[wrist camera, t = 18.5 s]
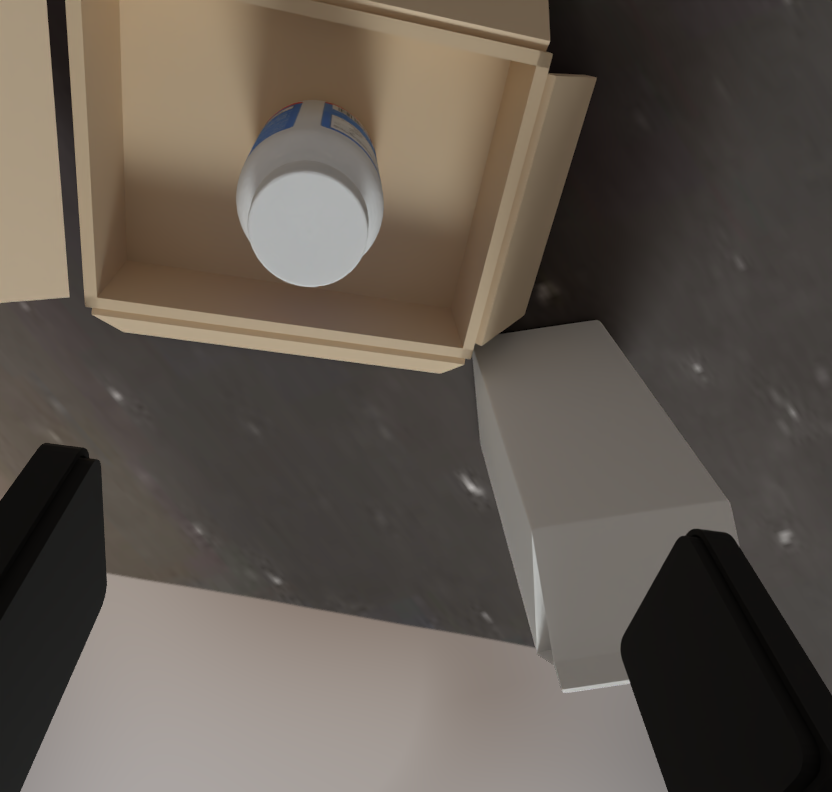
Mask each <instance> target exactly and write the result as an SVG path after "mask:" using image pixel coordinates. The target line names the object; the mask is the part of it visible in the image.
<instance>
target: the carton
mask: <svg viewBox="0 0 832 792" xmlns="http://www.w3.org/2000/svg"><path fill="white" fill-rule="evenodd" d="M65 5H66V20H67V35H68V51H69V66H70V81H71V97H72V112H73V128H74V143H75V158H76V174H77V189H78V204H79V220H80V235H81V250H82V266H83V281H84V297H85V307H92V315H94V316H96V317H97V318H99V319H101V320H103V321H105V322H106V323H108V324H110V325H112V326H114V327H115V328H117V329H119V330H121V331H123V332H128V333H135V334H143V335H150V336H158V337H166V338H173V339H181V340H188V341H196V342H204V343H211V344H219V345H226V346H234V347H242V348H249V349H257V350H264V351H272V352H279V353H287V354H295V355H302V356H310V357H317V358H325V359H333V360H340V361H348V362H355V363H363V364H371V365H378V366H386V367H393V368H401V369H409V370H416V371H424V372H431V373H439V374H441V373H443V372H446V371H449V370H451V369H454V368H457V367H459V366H462V365H464V364H465V359H471V356H472V353H473V349H474V345H475V343H476V344H478V345H480V346H483V345H484V344H485V343H487V342H488V341H490V340H491V339H492V338H494V337H495V336H496V335H498V334H499V333H501V332H502V331H503V330H505V329H506V328H507V327H509V326H510V325H511V324H513V323H514V322H516V321H517V320H518V319H520V318H521V317H522V316H524V315H525V312H526V309H527V305H528V302H529V299H530V296H531V292H532V289H533V286H534V282H535V279H536V276H537V273H538V269H539V266H540V263H541V260H542V256H543V253H544V250H545V246H546V243H547V240H548V237H549V233H550V230H551V227H552V223H553V220H554V217H555V214H556V210H557V207H558V204H559V201H560V197H561V194H562V191H563V187H564V184H565V181H566V178H567V174H568V171H569V168H570V165H571V161H572V158H573V155H574V151H575V148H576V145H577V142H578V138H579V135H580V132H581V129H582V125H583V122H584V119H585V115H586V112H587V109H588V106H589V102H590V99H591V96H592V92H593V89H594V86H595V83H596V79H597V78H596V77H593V76H589V75H577V74H556V73H548V71H549V68H550V64H551V60H552V56H553V54H552V53H550V52H547V51H546V50H547V48H548V45H549V43H550V23H549V3H548V0H65ZM303 100H321V101H326V102H330V103H333V104H335V105H338V106H339V107H341V108H343V109H345V110H346V111H348V112H349V113H351V114H352V115H353V116H355V117H356V118H357V119H358V120H359V122H360V123H361V124H362V125H363V127H364V128H365V129H366V131H367V132H368V134H369V136H370V138H371V140H372V143H373V145H374V148H375V153H376V158H377V164H378V168H379V173H380V179H381V184H382V191H383V200H384V211H383V219H382V223H381V227H380V230H379V233H378V235H377V237H376V239H375V241H374V243H373V244H372V246H371V247H370V249H369V250H368V251H367V252H366V253H365V254H364V255H363V256H362V258H361V259H360V261H359V263H358V264H357V265H356V267H355V268H354V269H353V270H352V271H351V272H350V273H348V274H347V275H346V276H345V277H343V278H342V279H340V280H338V281H336V282H334V283H331V284H328V285H324V286H317V287H304V286H297V285H294V284H290V283H288V282H285V281H283V280H281V279H280V278H278V277H276V276H275V275H273V274H272V273H271V272H270V271H268V270H267V269H266V268H265V267H264V266H263V264H262V263H261V262H260V261H259V259H258V258H257V256H256V254H255V253H254V251H253V249H252V246H251V244H250V241H249V240H248V238H247V236H246V235H245V233H244V231H243V229H242V226H241V223H240V220H239V217H238V212H237V205H236V191H237V184H238V180H239V176H240V173H241V170H242V168H243V166H244V163H245V161H246V159H247V157H248V155H249V153H250V151H251V149H252V147H253V145H254V144H255V142H256V140H257V138H258V136H259V134H260V132H261V130H262V129H263V127H264V126H265V124H266V123H267V122H268V120H269V119H270V118H271V117H272V116H273V115H274V114H275V113H276V112H278V111H279V110H281V109H282V108H284V107H285V106H287V105H290V104H292V103H295V102H298V101H303Z"/></svg>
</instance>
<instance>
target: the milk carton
mask: <svg viewBox="0 0 832 792" xmlns="http://www.w3.org/2000/svg"><path fill="white" fill-rule="evenodd" d="M472 358H473V369H474V380H475V391H476V402H477V413H478V424H479V435H480V444H481V448H482V452H483V456H484V459H485V463H486V467H487V470H488V474H489V478H490V481H491V485H492V489H493V492H494V496H495V500H496V504H497V507H498V511H499V515H500V518H501V522H502V526H503V529H504V533H505V537H506V540H507V544H508V548H509V552H510V555H511V559H512V563H513V566H514V570H515V574H516V577H517V581H518V585H519V588H520V592H521V596H522V600H523V603H524V607H525V611H526V614H527V618H528V622H529V625H530V629H531V633H532V636H533V640H534V644H535V648H536V651H537V654H538V655H539V656H540V657H542V658H544V659H545V660H547V661H548V662H550V663H551V664H553V665H554V667H555V670H556V673H557V677H558V680H559V684H560V687H561V690H562V692H564V693H569V692H576V691H583V690H589V689H596V688H603V687H610V686H616V685H623V684H630V681H629V678H628V675H627V672H626V670H625V667H624V664H623V661H622V657H621V651H620V647H621V640H622V637H623V635H624V633H625V631H626V629H627V628H628V626H629V624H630V622H631V620H632V619H633V617H634V615H635V613H636V612H637V610H638V608H639V606H640V604H641V603H642V601H643V599H644V597H645V596H646V594H647V592H648V590H649V588H650V587H651V585H652V583H653V581H654V579H655V578H656V576H657V574H658V572H659V571H660V569H661V567H662V565H663V563H664V562H665V560H666V558H667V556H668V555H669V553H670V551H671V549H672V547H673V546H674V544H675V542H676V540H677V539H678V538H679V537H681V536H685V535H686V534H687V533H688V532H689V531H690V530H692V529H703V530H711V531H719V532H726V533H728V534H730V535H731V536H732V537H733V538H734V539H735V541H736V542H737V544H738V546H739V542H738V537H737V532H736V528H735V523H734V518H733V513H732V509H731V504H730V501H728V499H727V498H726V497H725V495H724V494H723V492H722V491H721V490H720V488H719V487H718V485H717V484H716V483H715V481H714V480H713V478H712V477H711V476H710V474H709V473H708V471H707V470H706V469H705V467H704V466H703V464H702V463H701V462H700V460H699V459H698V457H697V456H696V455H695V453H694V452H693V450H692V449H691V448H690V446H689V445H688V443H687V442H686V441H685V439H684V438H683V436H682V435H681V434H680V432H679V431H678V429H677V428H676V427H675V425H674V424H673V422H672V421H671V420H670V418H669V417H668V415H667V414H666V413H665V411H664V410H663V408H662V407H661V406H660V404H659V403H658V401H657V400H656V399H655V397H654V396H653V394H652V393H651V392H650V390H649V389H648V387H647V386H646V385H645V383H644V382H643V380H642V379H641V378H640V376H639V375H638V373H637V372H636V371H635V369H634V368H633V366H632V365H631V364H630V362H629V361H628V359H627V358H626V357H625V355H624V354H623V352H622V351H621V350H620V348H619V347H618V345H617V344H616V343H615V341H614V340H613V338H612V337H611V335H610V334H609V333H608V331H607V330H606V328H605V327H604V326H603V324H602V323H601V322H600V321H598V320H592V321H585V322H578V323H571V324H564V325H558V326H551V327H544V328H537V329H531V330H524V331H517V332H510V333H504V334H498V335H496V336H495V337H494V338H492V339H491V340H490V341H488V342H487V343H485V344H484V345H483V346H480V345H478V344H476V343H475V345H474V349H473V353H472ZM739 547H740V546H739Z"/></svg>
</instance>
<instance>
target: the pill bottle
mask: <svg viewBox="0 0 832 792" xmlns="http://www.w3.org/2000/svg"><path fill="white" fill-rule="evenodd" d="M236 205H237V212H238V217H239V220H240V223H241V226H242V229H243V231H244V233H245V235H246V236H247V238H248V240H249V241H250V244H251V246H252V249H253V251H254V253H255V254H256V256H257V258H258V259H259V261H260V262H261V263H262V264H263V266H264V267H265V268H266V269H267V270H268V271H270V272H271V273H272V274H273V275H275V276H276V277H278V278H280V279H281V280H283V281H285V282H288V283H290V284H294V285H297V286H304V287H317V286H324V285H328V284H331V283H334V282H336V281H338V280H340V279H342V278H343V277H345V276H346V275H347V274H348V273H350V272H351V271H352V270H353V269H354V268H355V267H356V265H357V264H358V263H359V261H360V259H361V258H362V256H363V255H364V254H365V253H366V252H367V251H368V250H369V249H370V247H371V246H372V244H373V243H374V241H375V239H376V237H377V235H378V233H379V230H380V227H381V223H382V219H383V211H384V200H383V191H382V184H381V179H380V173H379V168H378V164H377V158H376V153H375V148H374V145H373V143H372V140H371V138H370V136H369V134H368V132H367V131H366V129H365V128H364V127H363V125H362V124H361V123H360V122H359V120H358V119H357V118H356V117H355V116H353V115H352V114H351V113H349V112H348V111H346V110H345V109H343V108H341V107H339V106H338V105H335V104H333V103H330V102H326V101H321V100H303V101H298V102H295V103H292V104H290V105H287V106H285V107H284V108H282V109H281V110H279V111H278V112H276V113H275V114H274V115H273V116H272V117H271V118H270V119H269V120H268V122H267V123H266V124H265V126H264V127H263V129H262V130H261V132H260V134H259V136H258V138H257V140H256V142H255V144H254V145H253V147H252V149H251V151H250V153H249V155H248V157H247V159H246V161H245V163H244V166H243V168H242V170H241V173H240V176H239V180H238V184H237V191H236Z"/></svg>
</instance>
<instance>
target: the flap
mask: <svg viewBox="0 0 832 792" xmlns="http://www.w3.org/2000/svg"><path fill="white" fill-rule="evenodd" d="M66 297H69V285H68V272H67V259H66V246H65V233H64V220H63V208H62V195H61V182H60V169H59V156H58V143H57V130H56V117H55V104H54V91H53V79H52V66H51V53H50V40H49V27H48V14H47V1H46V0H0V303H5V302H17V301H29V300H42V299H54V298H66Z"/></svg>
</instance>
